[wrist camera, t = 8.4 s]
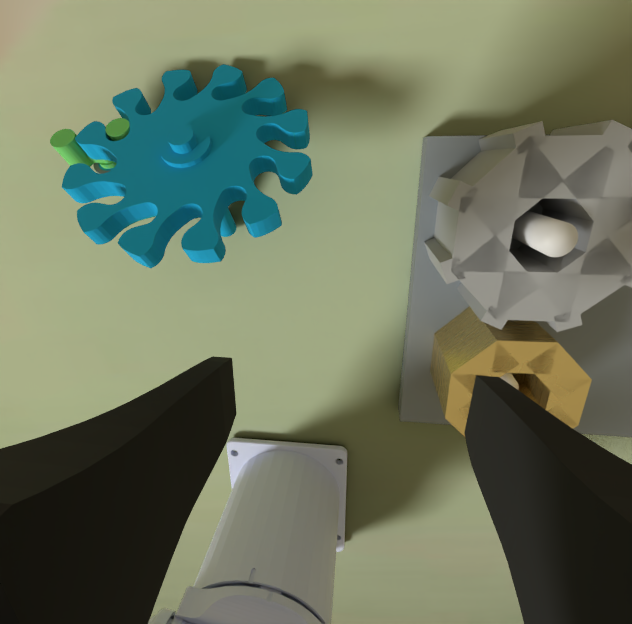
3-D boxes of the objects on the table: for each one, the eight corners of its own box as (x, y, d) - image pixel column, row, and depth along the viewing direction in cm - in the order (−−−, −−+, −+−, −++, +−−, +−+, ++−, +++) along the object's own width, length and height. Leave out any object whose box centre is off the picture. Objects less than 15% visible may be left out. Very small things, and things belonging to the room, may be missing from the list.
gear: (341, 63, 15) (258, 274, 11) (342, 172, 20) (287, 338, 17) (106, 38, 17) (-27, 211, 13) (165, 143, 22) (81, 287, 19)
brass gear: (554, 306, 18) (602, 343, 14) (531, 401, 20) (569, 455, 16) (437, 304, 19) (455, 339, 15) (427, 396, 21) (441, 447, 17)
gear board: (667, 426, 21) (770, 515, 16) (398, 408, 23) (409, 484, 17) (795, 127, 15) (1024, 110, 10) (423, 133, 17) (451, 120, 12)
